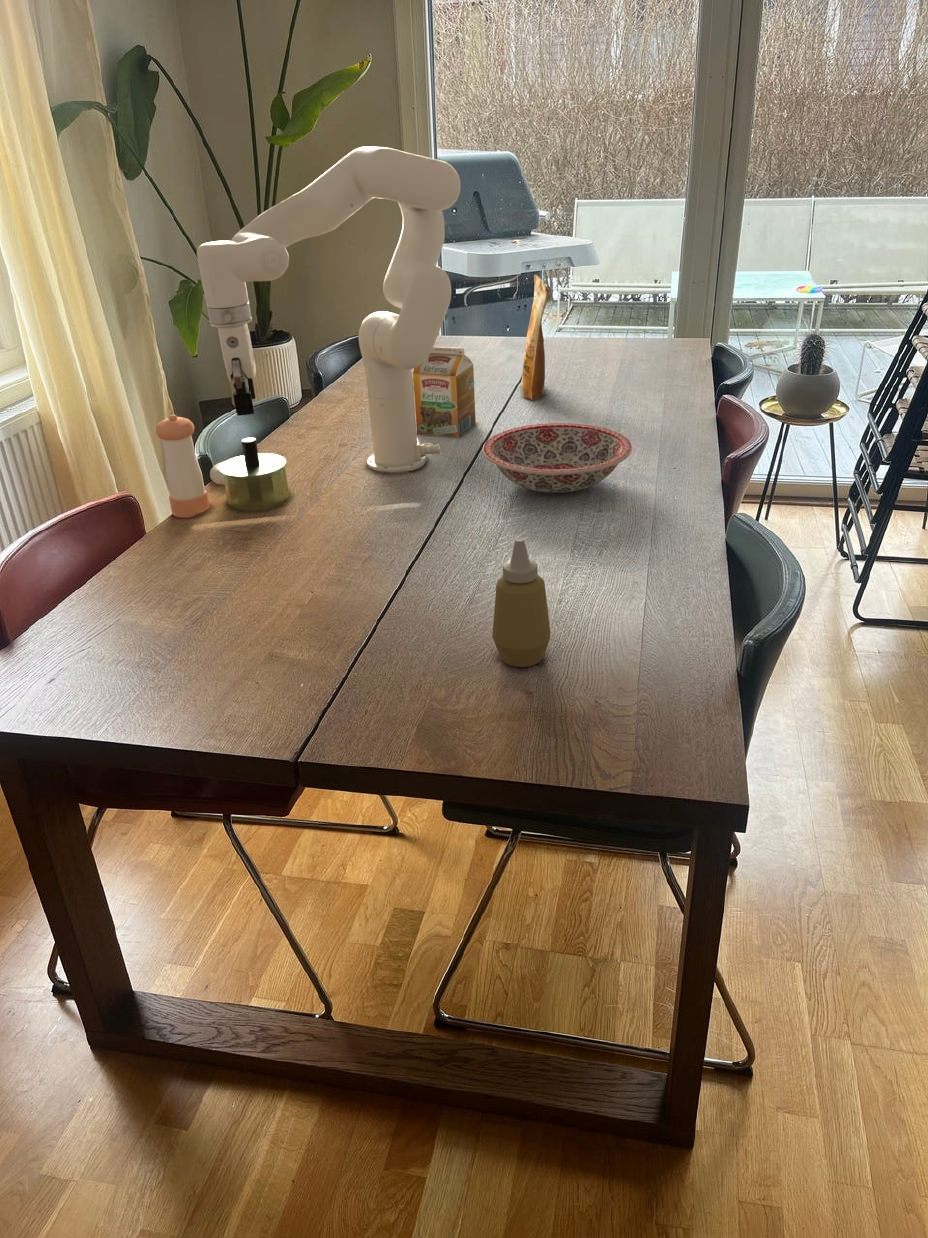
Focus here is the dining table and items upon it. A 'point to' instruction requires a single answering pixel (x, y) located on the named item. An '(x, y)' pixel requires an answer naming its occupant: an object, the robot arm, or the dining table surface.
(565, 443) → the ceramic bowl
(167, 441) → the pepper shaker
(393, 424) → the robot arm
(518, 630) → the squeeze bottle
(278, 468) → the lid
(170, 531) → the dining table surface
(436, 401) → the milk carton
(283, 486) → the pot
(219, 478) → the donut
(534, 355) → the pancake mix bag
